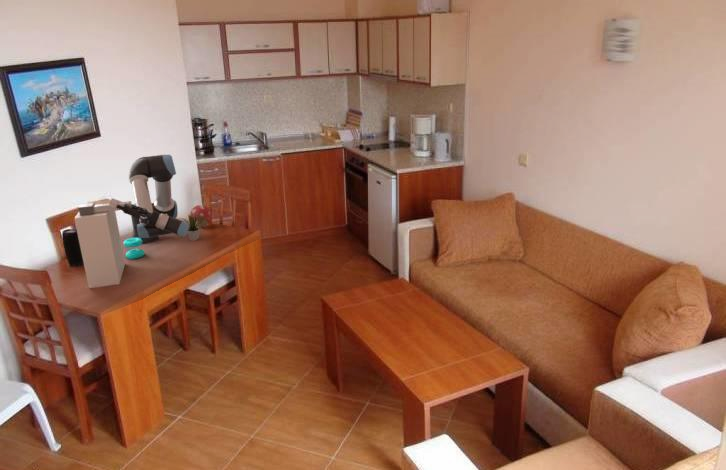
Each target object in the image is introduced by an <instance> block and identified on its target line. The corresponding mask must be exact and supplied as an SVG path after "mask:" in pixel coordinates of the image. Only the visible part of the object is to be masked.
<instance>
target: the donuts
mask: <svg viewBox="0 0 726 470" xmlns="http://www.w3.org/2000/svg"><path fill="white" fill-rule="evenodd" d="M122 245H123V246H124V247H126V248H132V249H130V250H128V251H126V252H125V258H127V259H129V260H131V259H132V260H135V259H140V258H141V257H143V256H144V255H145V251H144V250H143V249H141V248H137V247H139V246H140V245H143V244H142V239H141V238H132V237H130V238H127V239H125V240H124V241H123V244H122ZM133 248H134V249H133Z"/></svg>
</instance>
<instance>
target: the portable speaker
mask: <svg viewBox="0 0 726 470" xmlns="http://www.w3.org/2000/svg"><path fill="white" fill-rule="evenodd" d="M62 244H63V250H64V254H65V257H66V260H67V262H68V263H67V264H68V265H70V267H72V266H74V267H79V266H78V265H80V266H82V264H83V265H84V262H83V258H82V253H81V248H80V243H79V239H78V234H77V229H76V228H72V229H71V228H67V229H64V230H62Z"/></svg>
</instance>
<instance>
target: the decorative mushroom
mask: <svg viewBox="0 0 726 470" xmlns="http://www.w3.org/2000/svg"><path fill="white" fill-rule="evenodd" d="M190 213H191V214H192V216H193V217H194V219H195V216H196V215H197V214H198V215H197V218H198V217H199V216H200V215H202V216H200V217H199V218H198V220H199V219H200V218H201V219H200V220H199V221H198V220H197V221H196V224H197V223H198V224H197V225H199V226H198V227H199V228H201V227H203V228H205V227H207V225H208V220H207V219H208V218H210V217H211V216H212V211H211V210H210V208H209V207H208V206H206V205H204V204H199V205H196V206H193V208H192V209H191V211H190ZM190 213H189V215H190V216H191V214H190ZM191 218H192V217H191ZM197 218H196V219H197ZM199 222H200V223H199ZM201 222H202V223H201ZM204 226H205V227H204ZM198 227H197V228H198Z"/></svg>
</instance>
